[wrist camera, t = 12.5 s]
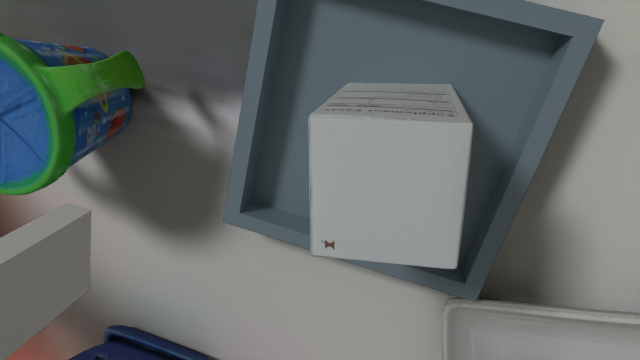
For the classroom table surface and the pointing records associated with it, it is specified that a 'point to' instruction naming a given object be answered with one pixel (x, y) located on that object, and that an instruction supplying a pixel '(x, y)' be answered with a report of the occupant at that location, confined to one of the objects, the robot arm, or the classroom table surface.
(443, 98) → the supplement box
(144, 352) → the flower pot
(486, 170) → the tray
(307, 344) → the classroom table surface
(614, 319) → the square plate
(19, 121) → the snack cup
